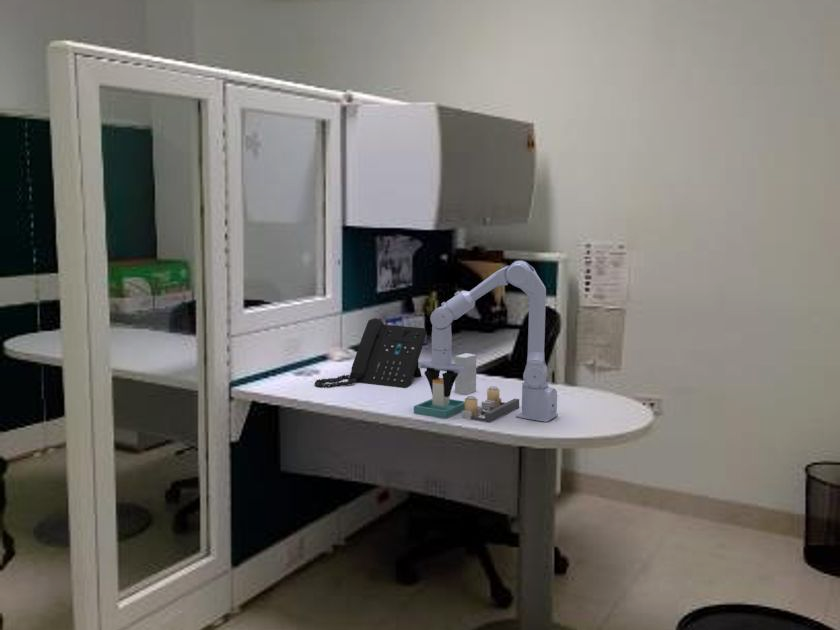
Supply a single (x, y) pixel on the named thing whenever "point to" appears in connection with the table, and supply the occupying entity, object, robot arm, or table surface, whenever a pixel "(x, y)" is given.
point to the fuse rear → (493, 395)
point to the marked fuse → (439, 393)
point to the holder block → (492, 410)
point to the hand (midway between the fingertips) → (441, 395)
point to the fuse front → (471, 405)
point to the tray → (440, 409)
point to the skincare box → (466, 374)
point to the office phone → (384, 356)
